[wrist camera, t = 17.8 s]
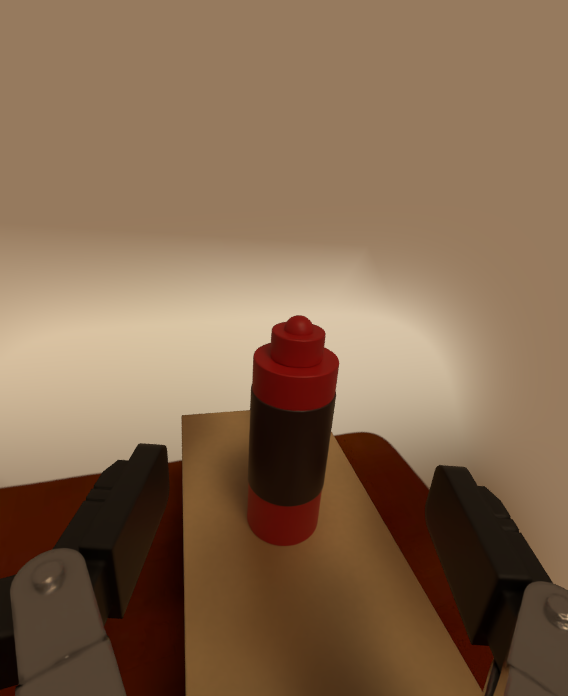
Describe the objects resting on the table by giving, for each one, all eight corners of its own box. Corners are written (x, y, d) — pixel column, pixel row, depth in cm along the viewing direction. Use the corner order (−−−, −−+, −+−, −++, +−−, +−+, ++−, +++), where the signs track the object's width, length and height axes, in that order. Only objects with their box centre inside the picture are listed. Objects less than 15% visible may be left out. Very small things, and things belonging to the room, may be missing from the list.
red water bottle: (271, 480, 23) (284, 297, 18) (330, 509, 21) (359, 315, 17) (231, 523, 20) (235, 317, 15) (295, 561, 18) (320, 341, 14)
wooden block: (306, 485, 34) (316, 404, 30) (450, 840, 16) (508, 735, 13) (185, 501, 31) (181, 414, 28) (194, 940, 13) (187, 842, 10)
